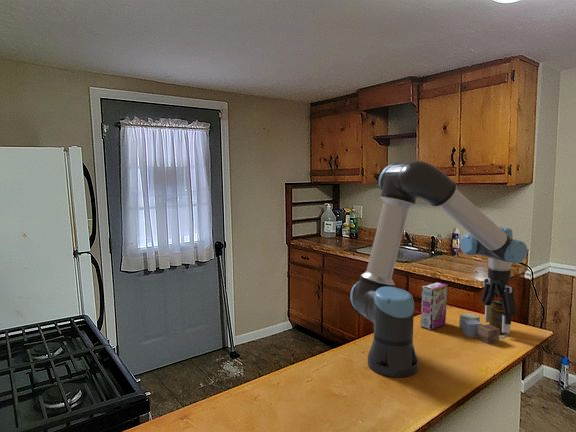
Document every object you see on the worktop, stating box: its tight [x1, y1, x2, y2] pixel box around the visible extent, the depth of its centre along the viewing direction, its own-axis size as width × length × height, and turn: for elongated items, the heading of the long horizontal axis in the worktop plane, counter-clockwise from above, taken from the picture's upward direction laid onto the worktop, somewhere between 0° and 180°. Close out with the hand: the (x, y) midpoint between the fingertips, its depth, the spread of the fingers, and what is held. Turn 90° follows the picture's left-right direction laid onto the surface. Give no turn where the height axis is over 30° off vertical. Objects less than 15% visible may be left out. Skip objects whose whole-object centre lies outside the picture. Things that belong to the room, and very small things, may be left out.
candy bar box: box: [419, 282, 448, 331], centre depth 153 cm, size 11×5×16 cm, turn 130°
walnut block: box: [476, 323, 500, 345], centre depth 139 cm, size 5×5×5 cm
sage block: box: [458, 312, 481, 329], centre depth 151 cm, size 5×5×5 cm
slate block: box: [461, 319, 483, 338], centre depth 144 cm, size 5×5×5 cm
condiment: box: [488, 299, 511, 339], centre depth 146 cm, size 7×8×12 cm
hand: (496, 326), depth 146 cm, fingers open, 10 cm apart
